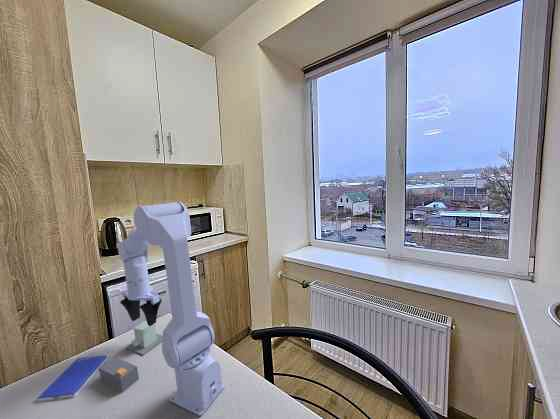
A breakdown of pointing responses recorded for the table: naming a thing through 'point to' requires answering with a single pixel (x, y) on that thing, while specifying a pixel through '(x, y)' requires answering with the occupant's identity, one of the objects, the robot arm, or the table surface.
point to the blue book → (73, 378)
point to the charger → (144, 335)
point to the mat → (145, 350)
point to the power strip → (119, 374)
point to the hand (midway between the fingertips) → (143, 321)
